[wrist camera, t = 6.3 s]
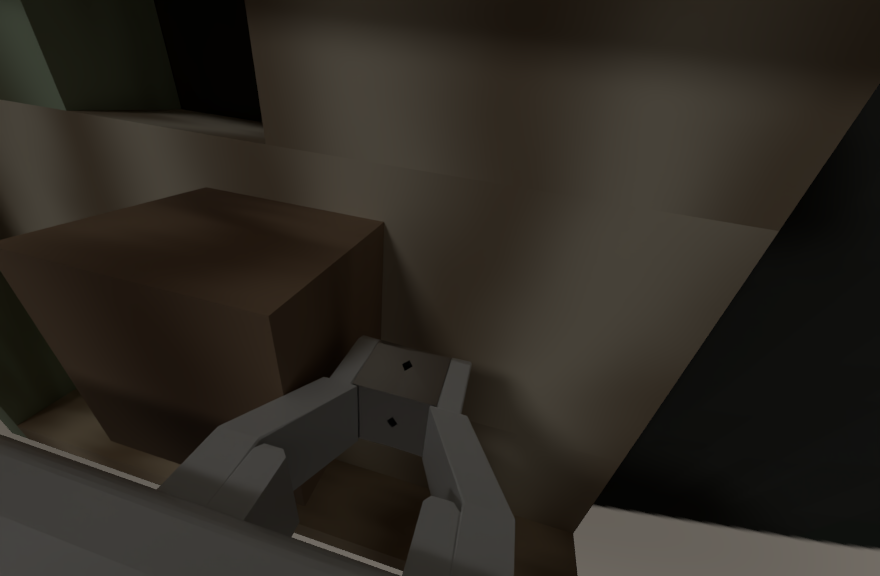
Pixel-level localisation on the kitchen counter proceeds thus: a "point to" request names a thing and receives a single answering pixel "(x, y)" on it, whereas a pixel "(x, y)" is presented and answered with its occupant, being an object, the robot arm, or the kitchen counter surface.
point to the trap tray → (456, 203)
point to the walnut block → (198, 308)
